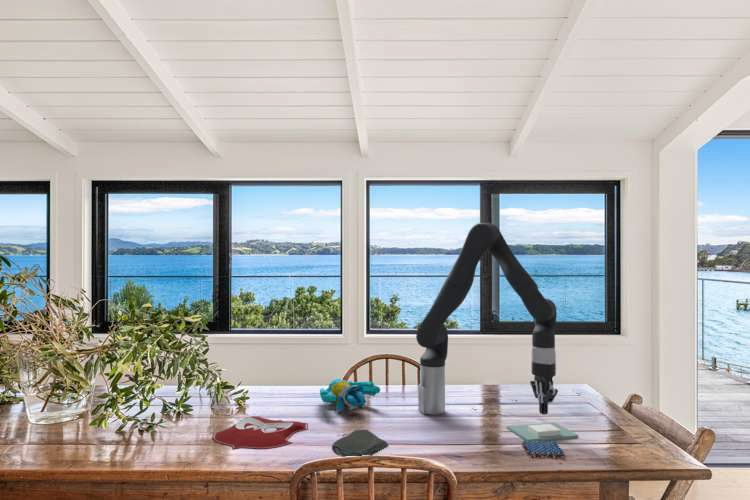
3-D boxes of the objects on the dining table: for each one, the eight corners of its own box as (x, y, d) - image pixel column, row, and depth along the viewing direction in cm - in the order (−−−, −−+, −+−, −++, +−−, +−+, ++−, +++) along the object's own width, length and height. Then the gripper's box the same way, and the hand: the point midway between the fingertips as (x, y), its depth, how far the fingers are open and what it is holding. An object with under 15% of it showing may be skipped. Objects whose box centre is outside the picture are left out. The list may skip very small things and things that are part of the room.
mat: (527, 442, 158) (527, 439, 158) (507, 428, 171) (507, 426, 171) (578, 437, 162) (578, 435, 162) (554, 424, 175) (554, 422, 175)
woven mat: (520, 446, 156) (520, 439, 156) (555, 447, 156) (555, 440, 156) (528, 459, 146) (527, 452, 146) (565, 460, 145) (565, 453, 145)
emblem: (191, 436, 156) (247, 408, 184) (191, 446, 156) (246, 416, 184) (274, 448, 146) (319, 417, 174) (274, 458, 146) (319, 426, 174)
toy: (385, 417, 186) (355, 410, 207) (388, 383, 189) (358, 380, 210) (330, 414, 176) (304, 407, 197) (334, 378, 179) (308, 375, 200)
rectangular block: (549, 428, 168) (528, 430, 166) (549, 423, 168) (528, 425, 166) (560, 435, 162) (538, 436, 161) (560, 430, 162) (537, 431, 161)
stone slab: (387, 462, 143) (387, 455, 143) (327, 461, 144) (327, 454, 144) (389, 433, 167) (389, 427, 167) (338, 432, 168) (338, 426, 168)
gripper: (522, 357, 172) (522, 408, 171) (544, 365, 159) (544, 421, 158) (542, 356, 173) (542, 407, 173) (565, 364, 160) (565, 419, 160)
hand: (543, 413), depth 166 cm, fingers closed
